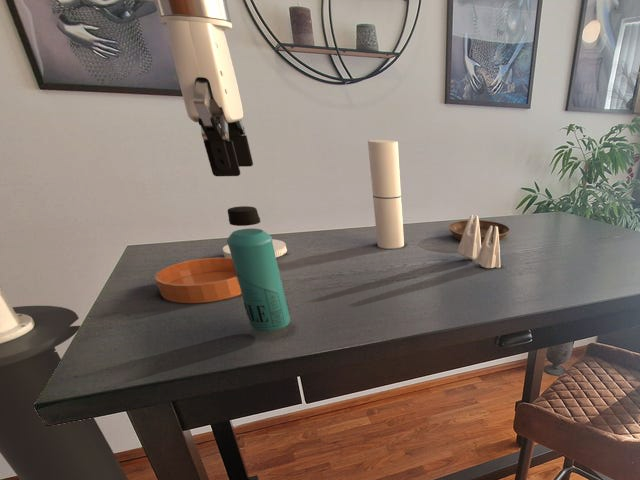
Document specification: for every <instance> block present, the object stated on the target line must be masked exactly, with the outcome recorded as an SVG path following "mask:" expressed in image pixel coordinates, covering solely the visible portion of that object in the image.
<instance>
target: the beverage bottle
mask: <svg viewBox="0 0 640 480" xmlns="http://www.w3.org/2000/svg"><path fill="white" fill-rule="evenodd" d="M227 216H228V222H229V223H228V224H229V225H231V226H235V227H243V226H245V227H246V226H254V225H258V224H260V223H261V218H260V216H259V212H258V209H257V208H256V207H254V206H248V205H245V206H243V205H242V206H241V205H240V206H233V207H229V208H228V209H227ZM272 239H273V237H272V236H271V235H270V234H269V233H267V232H266V231H264V230H263V229H260V228H255V227H254V228H241V229H236V230H234V231H232V232H231V233H230V235H229V236H228V238H227V239H226V243H227V244H226V245H228V246H229V249H230V253H231V256H232V259H233V264H234V265H233V266H234V267H235V272H236V274H235V275H237V276H236V277H237V278H238V282H239V285H240V289H241V292H242V293H241V294H240V295H241V296H242V302H243V305H244V309H245V314H246V317H247V319H248V320H247V321H248V322H249V325H250V326H251V327H252V329H254V330H255V331H257V332H258V331H259V332H272V331H277V330H281V329H283V328H286V327H287V326H288V325H289V324H290V323H291V315H290V314H291V312H290V308H289V303H288V302H287V298H286V297H287V295H286V293H285V289H284V284H283V281H282V278H281V274H280V269H279V265H278V261H277V257H276V256H275V251H274V247H273V243H272ZM234 267H233V268H234ZM237 278H236V279H237Z"/></svg>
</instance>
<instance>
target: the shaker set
mask: <svg viewBox="0 0 640 480" xmlns="http://www.w3.org/2000/svg"><path fill="white" fill-rule="evenodd" d="M467 220H468V223H467V225H466V228H465V231H464V233H463V236H462V239H461V241H460V242H459V244H458V248H457V253H458V254H459V255H461V256H463V257H465V258H467V259H469V260H472V261H475V262H474V263H476V264H478V265H480V267H483V268H485V269H494V268H496V269H500V268H501V251H500V249H501V248H500V241H499V234H498V227H497V226H495V229H494V236H493V243H491V238H492V226H490V227H489V229H488V232H487V234H486V236H485V239H484V241H483V243H482V244H481V238H480V227H479V220H480V219H479V216H478V214H475V215H473V214H470V216H469V218H468V219H467ZM473 220H475V222H474V224H473Z"/></svg>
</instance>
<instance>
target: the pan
mask: <svg viewBox="0 0 640 480" xmlns="http://www.w3.org/2000/svg"><path fill="white" fill-rule="evenodd" d="M233 265H234V264H233V259H232V258H225V257H205V258H196V259H191V260H186V261H182V262H176V263H174V264H171V265H168V266H166V267H164V268H161V269H159V270H158V271H157V272H156V273H155V274H154V281H155V284H156V286H157V289H158V291H159V293H160V296H161V297H162V298H163V299H165V300H167V301H169V302H173V303H174V302H175V303H178V304H179V303H181V304H201V303H211V302H219V301H223V300H227V299H231V298H234V297H237V296H240V295H242V294H241V293H242V292H241V289H240V285H239V282H238V278H237V277H236V276H237V275H235V274H236V272H235V267H234V266H233ZM233 267H234V268H233ZM236 278H237V279H236Z"/></svg>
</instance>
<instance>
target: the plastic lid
mask: <svg viewBox="0 0 640 480" xmlns="http://www.w3.org/2000/svg"><path fill="white" fill-rule="evenodd" d="M272 243H273V247H274V251H275V256H276V258H279V257H281V256H283V255H285V254H286V253H287V251H288V250H287V244H286V242H284V241H282V240H280V239H274V238H272ZM221 249H222V254H223V256H224V257H223V258H232V256H231V253H230V249H229V246H228V244H226V245H224V246H223V247H222V248H221Z"/></svg>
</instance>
